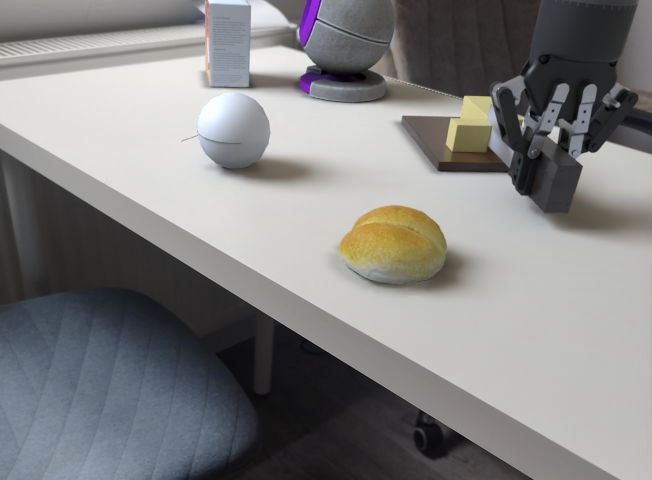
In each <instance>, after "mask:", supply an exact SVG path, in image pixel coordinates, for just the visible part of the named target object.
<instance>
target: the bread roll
mask: <svg viewBox="0 0 652 480" xmlns="http://www.w3.org/2000/svg"><path fill="white" fill-rule="evenodd" d="M447 250H448V244H447V239H446V237H445V235H444V232H443V231H442V229H441V227H440V224H438V222H436V221H435V220H434V219H433V218H432V217H430V216H429V215H428V214H426V213H425V212H424V211H422V210H419V209H416V208H413V207H409V206H404V205H399V204H392V205H391V204H390V205H384V206H378V207H377V208H374V209H372V210H370V211H368V212H366V213H363V214H362V215H361V216H359V218H358V219H357V220H356V221H355V222H354V224H353V226H352V228H351V230H350V231H348V232H347V233H346V234H344V236H343V238H342V239H341V241H340V242H339V245H338V256H339V258H340V261H342V262H343V263H344V264H346V266H347V267H348V268H350V270H352V271H354V272H355V273H357V274H359V275H360V276H362V277H363V278H366V279H367V280H370V281H373V282H377V283H383V284H389V285H390V284H391V285H400V284H402V285H403V284H411V283H418V282H422V281H427V280H429V279H430V278H432V277H434V276H436V274H437V273H439V271H440V270H441V269H442V268H443V266H444V263H445V262H446V258H447V254H448V251H447Z"/></svg>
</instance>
